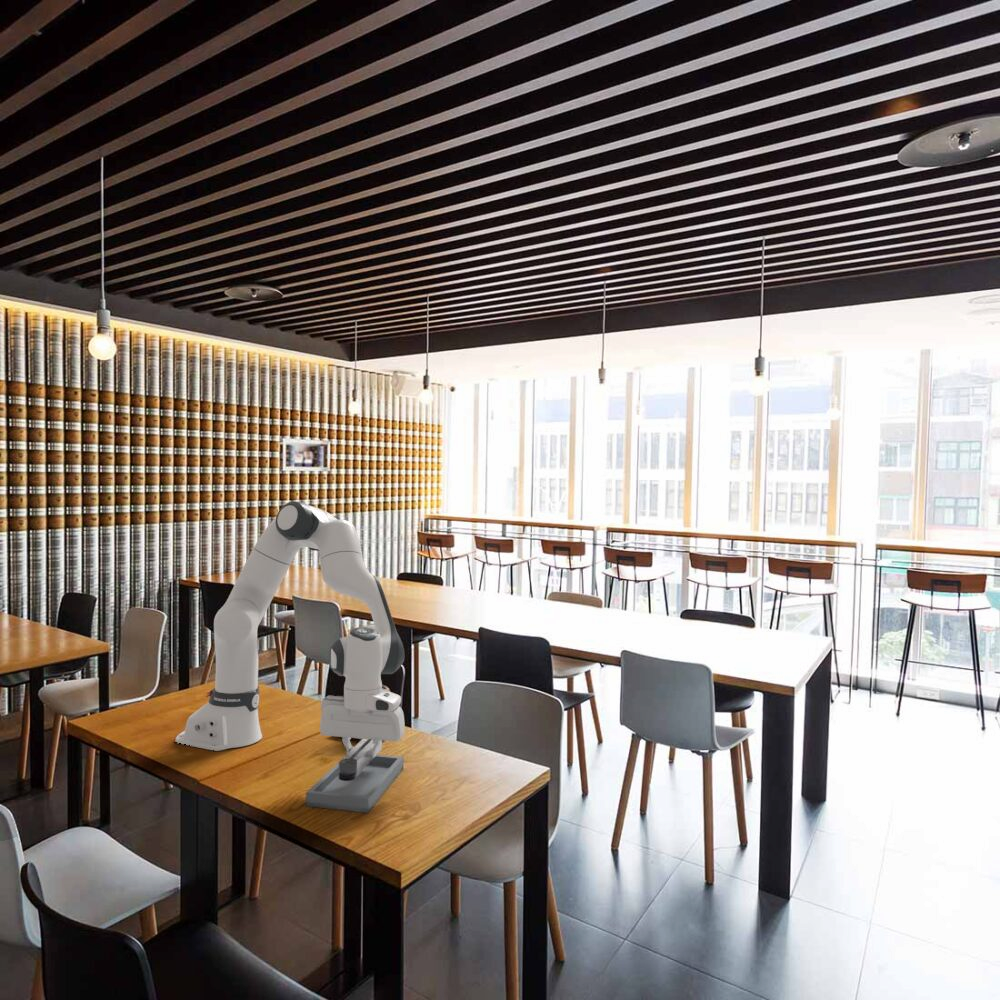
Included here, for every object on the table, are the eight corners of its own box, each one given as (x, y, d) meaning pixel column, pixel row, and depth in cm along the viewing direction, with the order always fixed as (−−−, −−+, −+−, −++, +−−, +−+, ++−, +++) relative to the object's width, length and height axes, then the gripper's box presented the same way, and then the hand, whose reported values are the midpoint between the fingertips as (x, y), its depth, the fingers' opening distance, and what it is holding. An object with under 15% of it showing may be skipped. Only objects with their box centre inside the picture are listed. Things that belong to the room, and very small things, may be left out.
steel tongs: (335, 780, 154) (336, 764, 154) (367, 747, 173) (367, 733, 173) (352, 781, 153) (353, 765, 153) (382, 749, 173) (382, 735, 173)
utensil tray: (305, 806, 152) (306, 792, 152) (349, 763, 177) (349, 751, 177) (368, 813, 149) (368, 799, 149) (403, 768, 174) (403, 757, 174)
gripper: (315, 698, 162) (314, 757, 162) (399, 704, 159) (398, 764, 159) (326, 691, 168) (325, 747, 169) (407, 697, 165) (406, 754, 165)
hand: (361, 756), depth 164 cm, fingers closed on steel tongs, 4 cm apart
